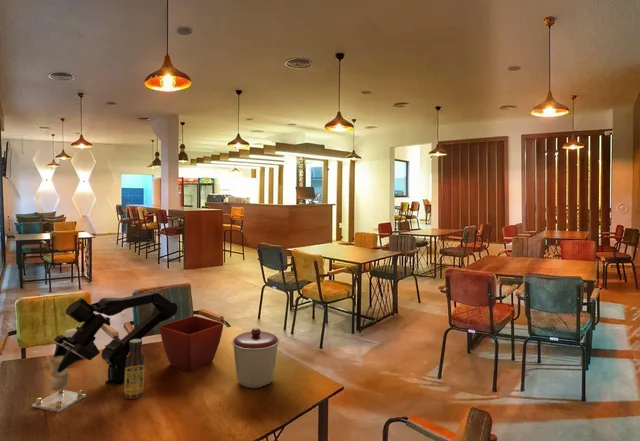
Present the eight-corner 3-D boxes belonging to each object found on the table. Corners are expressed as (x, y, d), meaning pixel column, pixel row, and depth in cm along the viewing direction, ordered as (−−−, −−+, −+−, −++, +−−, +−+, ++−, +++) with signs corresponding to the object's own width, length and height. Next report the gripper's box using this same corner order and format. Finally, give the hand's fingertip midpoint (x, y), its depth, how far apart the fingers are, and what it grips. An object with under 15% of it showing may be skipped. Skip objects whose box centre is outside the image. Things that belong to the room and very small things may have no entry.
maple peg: (69, 382, 142) (69, 354, 142) (66, 389, 137) (66, 359, 137) (52, 384, 140) (52, 356, 140) (48, 391, 135) (48, 361, 135)
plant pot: (224, 361, 176) (224, 322, 175) (188, 377, 160) (188, 335, 159) (194, 351, 186) (194, 315, 185) (158, 365, 170) (158, 325, 169)
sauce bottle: (124, 401, 140) (124, 345, 139) (123, 393, 145) (123, 339, 144) (145, 397, 143) (145, 342, 142) (143, 390, 148) (143, 336, 147)
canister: (242, 370, 167) (243, 319, 166) (284, 374, 163) (285, 323, 162) (223, 390, 149) (223, 333, 148) (270, 396, 146) (271, 338, 145)
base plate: (86, 396, 143) (86, 389, 143) (58, 412, 132) (58, 404, 132) (61, 391, 146) (61, 385, 146) (32, 406, 135) (32, 399, 135)
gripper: (118, 346, 145) (85, 388, 137) (93, 335, 156) (61, 373, 148) (94, 330, 138) (59, 373, 130) (70, 319, 149) (36, 358, 141)
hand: (54, 369), depth 137 cm, fingers closed on maple peg, 5 cm apart
